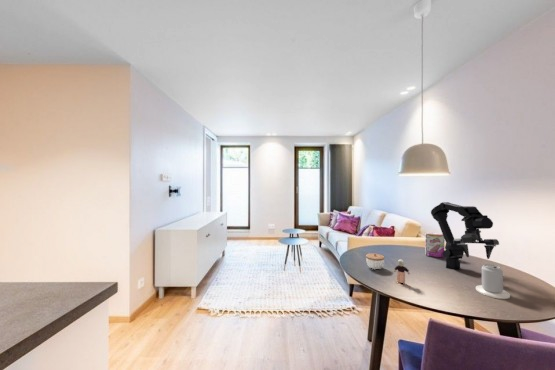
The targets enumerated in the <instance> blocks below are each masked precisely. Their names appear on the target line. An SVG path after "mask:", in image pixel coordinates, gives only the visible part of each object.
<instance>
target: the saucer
mask: <svg viewBox="0 0 555 370" xmlns="http://www.w3.org/2000/svg"><path fill="white" fill-rule="evenodd" d="M475 290H476V292H477V293H479V294H481V295H484V296H485V295H486V296H485V297H488V298H493V299H498V300H508V299H510V298H511V294H510V293H509V292H508V291H506V290H505V289H503V292H501V293H491V292H488V291H486V290H484V289H483V288H482V284H479V285H476V286H475Z"/></svg>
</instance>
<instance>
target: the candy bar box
mask: <svg viewBox="0 0 555 370" xmlns="http://www.w3.org/2000/svg"><path fill="white" fill-rule="evenodd" d="M424 243H425V244H424V253H425V256H426V257H434V258H443V259H444V258H445V257H443V254H442V253H443V252H444V251H445V239H444V236H443V234H442V233H437V232H436V233H435V232H424Z"/></svg>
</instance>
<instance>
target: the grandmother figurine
mask: <svg viewBox="0 0 555 370" xmlns="http://www.w3.org/2000/svg"><path fill="white" fill-rule="evenodd" d="M397 264H398V265H396V266H395V267H394V269H393V273H397V274H396V281H395V283H396V282H398V283H397V284H401V283H403V284H402V285H406V273H407V274H408V275H410V274H411V273H410V271H409V269H408V268H407V267H406V266H405V264H406V262H405V261H404V259H398V260H397Z"/></svg>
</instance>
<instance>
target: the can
mask: <svg viewBox="0 0 555 370" xmlns="http://www.w3.org/2000/svg"><path fill="white" fill-rule="evenodd" d="M501 268H502V267H500V266H499V265H495V264H490V263H484V264H483V265H482V266H481V285H482V288H483V289H484V290H486V291H488V292H491V293H501V292H503V290H504V279H503V277H504V275H503V269H501Z"/></svg>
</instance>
